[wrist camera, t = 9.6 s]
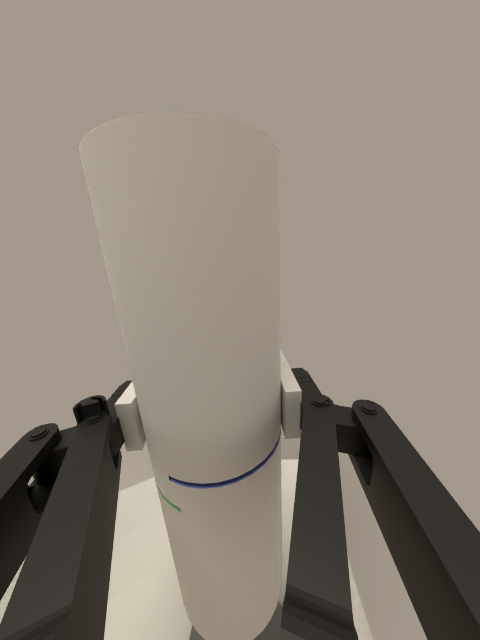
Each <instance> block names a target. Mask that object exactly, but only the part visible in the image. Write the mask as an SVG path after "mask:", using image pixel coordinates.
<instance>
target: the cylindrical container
mask: <svg viewBox="0 0 480 640" xmlns="http://www.w3.org/2000/svg"><path fill="white" fill-rule="evenodd" d="M79 153H80V157H81V162H82V166H83V170H84V175H85V179H86V183H87V188H88V192H89V196H90V201H91V205H92V209H93V213H94V218H95V222H96V226H97V231H98V234H99V239H100V244H101V248H102V252H103V257H104V260H105V265H106V270H107V274H108V278H109V282H110V287H111V291H112V295H113V300H114V304H115V308H116V312H117V317H118V321H119V325H120V330H121V333H122V338H123V343H124V347H125V351H126V355H127V360H128V364H129V369H130V373H131V377H132V381H133V386H134V390H135V394H136V399H137V403H138V407H139V412H140V416H141V420H142V425H143V429H144V433H145V437H146V442H147V446H148V450H149V455H150V459H151V463H152V468H153V472H154V476H155V481H156V485H157V489H158V494H159V498H160V502H161V507H162V511H163V515H164V520H165V524H166V528H167V533H168V537H169V541H170V546H171V550H172V554H173V559H174V563H175V567H176V572H177V576H178V580H179V585H180V589H181V593H182V598H183V602H184V606H185V609H186V612H187V614H188V617H189V620H190V621H191V623H192V625H193V626H194V628H195V630H196V631H197V632H198V633H199V634H200V635H201V636H202V637H203V638H204V639H205V640H253V639H254V638H255V637H257V636H258V635H259V634H260V633H261V632H262V631H263V630H264V628H265V627H266V625H267V624H268V623H269V621H270V620H271V618H272V616H273V613H274V611H275V609H276V607H277V603H278V600H279V596H280V592H281V584H282V510H281V370H280V246H279V245H280V240H279V239H280V235H279V234H280V233H279V150H278V147H277V145H276V143H275V142H274V141H273V140H272V139H271V138H270V137H269V136H268V135H267V134H265V133H264V132H262V131H260V130H259V129H257V128H255V127H253V126H250V125H248V124H245V123H242V122H239V121H236V120H233V119H230V118H225V117H220V116H214V115H209V114H202V113H188V112H158V113H143V114H138V115H132V116H127V117H121V118H118V119H115V120H112V121H109V122H106V123H103V124H101V125H99V126H98V127H96V128H94V129H93V130H91V131H89V132H88V133H87V134H86V135H85V136H84V138H83V139H82V140H81V142H80V148H79Z"/></svg>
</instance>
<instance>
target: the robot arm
mask: <svg viewBox="0 0 480 640" xmlns="http://www.w3.org/2000/svg"><path fill="white" fill-rule="evenodd" d="M280 370H281V425H282V429H283V432H284V436H285V439H289V438H300V436H301V441H300V451H299V462H298V472H297V482H296V492H295V502H294V512H293V522H292V532H291V542H290V553H289V563H288V573H287V583H286V592H285V598H284V602H283V609H282V617H281V626H280V636H279V640H358V635H357V633H356V630H355V627H354V622H353V614H352V603H351V592H350V580H349V569H348V558H347V547H346V536H345V524H344V514H343V502H342V491H341V480H340V468H339V458H338V452H342V453H347V454H348V455H349V457H350V459H351V462H352V464H353V466H354V469H355V471H356V474H357V476H358V478H359V480H360V483H361V485H362V488H363V490H364V492H365V495H366V497H367V499H368V502H369V504H370V506H371V509H372V511H373V513H374V516H375V518H376V520H377V523H378V525H379V527H380V530H381V531H382V534H383V537H384V539H385V541H386V543H387V546H388V548H389V551H390V553H391V555H392V558H393V560H394V562H395V564H396V567H397V569H398V572H399V574H400V576H401V579H402V581H403V583H404V586H405V588H406V590H407V592H408V595H409V597H410V600H411V602H412V604H413V607H414V609H415V611H416V614H417V616H418V618H419V621H420V623H421V625H422V628H423V630H424V632H425V635H426V637H427V639H428V640H480V532H479V531H478V530H477V528H476V527H475V526H474V524H473V523H472V522H471V521H470V519H469V518H468V517H467V515H466V514H465V513H464V512H463V510H462V509H461V508H460V506H459V505H458V504H457V502H456V501H455V500H454V499H453V497H452V496H451V495H450V493H449V492H448V491H447V490H446V488H445V487H444V486H443V485H442V483H441V482H440V481H439V479H438V478H437V477H436V476H435V474H434V473H433V472H432V470H431V469H430V468H429V466H428V465H427V464H426V462H425V461H424V460H423V459H422V457H421V456H420V455H419V454H418V452H417V451H416V450H415V449H414V447H413V446H412V444H411V443H410V442H409V441H408V439H407V438H406V437H405V435H404V434H403V433H402V431H401V430H400V429H399V428H398V426H397V425H396V424H395V422H394V421H393V420H392V419H391V417H390V416H389V415H388V413H387V412H386V411H385V410H384V408H382V407H381V406H380V405H378V404H377V403H375V402H372V401H369V400H357V401H355V402H353V405H352V408H350V407H344V406H338V405H335V404H333V401H332V400H331V399H330V398H329V397H327V396H325V395H322V394H321V392H320V391H319V389H318V388H317V386H316V384H315V383H314V382H313V380H312V378H311V376H310V375H309V373H308V372H307V371H305V370H304V369H302V368H293V369H290V367H289V365H288V363H287V361H286V359H285V357H284V355H283V353H282V351H281V349H280ZM73 412H74V415H75V418H76V421H77V426H75V427H72V428H68V429H65V430H61V431H59V428H58V425H56V424H54V423H51V424H45V425H41V426H39V427H36V428H34V429H33V430H31V431H29V432H28V433H27V434H25V435H24V436H23V437H22V438H21V439H20V440H19V441H18V442H17V443H16V444H15V445H14V446H13V447H12V448H11V449H10V450H9V451H8V452H7V453H6V454H5V455H4V456H3V457H2V458H1V459H0V600H1V599H2V597H3V595H4V594H5V592H6V590H7V588H8V587H9V585H10V583H11V581H12V580H13V578H14V576H15V575H16V573H17V571H18V569H19V568H20V566H21V564H22V563H23V561H24V559H25V557H26V559H25V562H24V564H23V567H22V569H21V572H20V575H19V577H18V580H17V582H16V585H15V588H14V590H13V593H12V595H11V598H10V601H9V603H8V606H7V608H6V611H5V614H4V616H3V619H2V621H1V624H0V640H104V631H105V621H106V611H107V601H108V591H109V581H110V570H111V560H112V550H113V540H114V530H115V520H116V510H117V500H118V489H119V480H120V469H121V459H122V456H121V452H120V449H121V447H122V445H123V443H125V446H126V450H127V451H133V450H142V449H143V447H144V444H145V442H146V437H145V433H144V429H143V425H142V420H141V416H140V412H139V407H138V403H137V399H136V394H135V390H134V386H133V381H126V382H125V383H123V384H122V385H121V386H119V387H118V388H117V390H116V391H115V393H113V394H112V396H111V397H110V398H109V399H108V401H106V398H105V397H104V396H100V395H98V396H92V397H89V398H86V399H84V400H82V401H80V402H79V403H77V404H76V405H75V406H74V407H73ZM301 431H302V432H301ZM32 476H33V478H34V481H33V482H32V483H31V485H30V486H28V482H29V480H30V478H31V477H32Z"/></svg>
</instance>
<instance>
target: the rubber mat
mask: <svg viewBox="0 0 480 640" xmlns="http://www.w3.org/2000/svg"><path fill="white" fill-rule="evenodd" d="M281 617H282V607H281V605H280V603H279V601H278V603H277V607H276V609H275V611H274V613H273V616H272V618H271V620H270V621H269V623H268V624H267V625H266V627H265V628H264V630H263V631H262V632H261V633H260V634H259V635H258V636H257V637H255V638H254V639H253V640H279V636H280V626H281ZM190 640H205V639H204V638H203V637H202V636H201V635H200V634H199V633H198V632H197V631H196V630H195V628H194V626H192V631H191V635H190Z"/></svg>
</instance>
